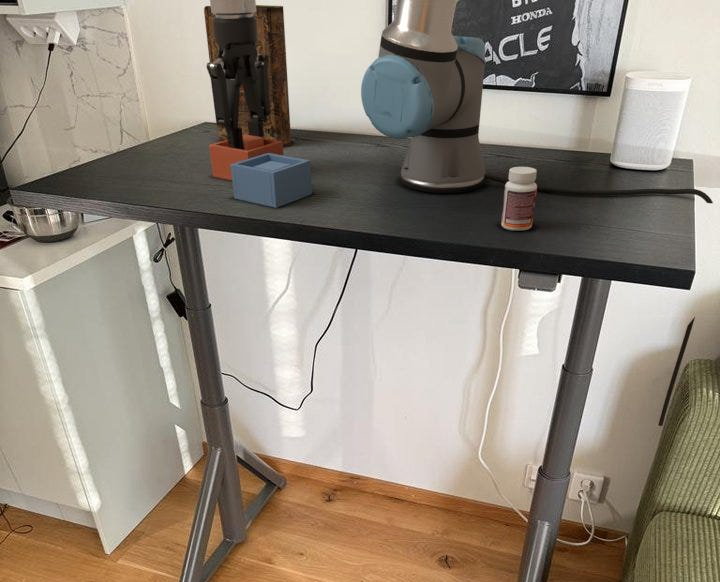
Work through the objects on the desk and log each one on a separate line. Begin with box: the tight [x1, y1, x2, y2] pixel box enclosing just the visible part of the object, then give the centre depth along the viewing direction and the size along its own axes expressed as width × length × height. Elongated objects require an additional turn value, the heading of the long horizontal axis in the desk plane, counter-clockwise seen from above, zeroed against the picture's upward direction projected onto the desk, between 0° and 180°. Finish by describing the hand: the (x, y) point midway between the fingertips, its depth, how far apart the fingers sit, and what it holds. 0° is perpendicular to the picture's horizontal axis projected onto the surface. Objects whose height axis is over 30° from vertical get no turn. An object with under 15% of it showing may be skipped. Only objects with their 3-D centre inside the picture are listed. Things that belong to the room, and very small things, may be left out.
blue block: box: [254, 161, 290, 171], centre depth 125 cm, size 4×4×4 cm
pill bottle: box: [500, 166, 538, 232], centre depth 110 cm, size 5×5×8 cm
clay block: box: [243, 135, 264, 151], centre depth 135 cm, size 4×4×4 cm
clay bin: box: [208, 138, 285, 182], centre depth 136 cm, size 10×10×6 cm
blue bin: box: [231, 153, 313, 209], centre depth 125 cm, size 10×10×6 cm
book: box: [203, 4, 292, 148], centre depth 152 cm, size 16×6×25 cm, turn 63°
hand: (248, 162), depth 136 cm, fingers closed on clay block, 4 cm apart
